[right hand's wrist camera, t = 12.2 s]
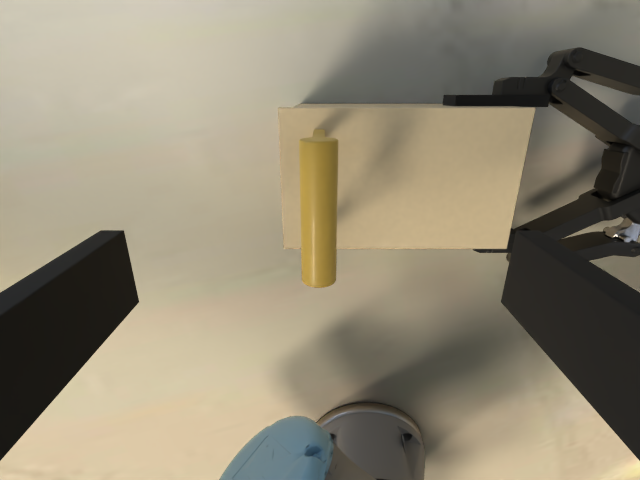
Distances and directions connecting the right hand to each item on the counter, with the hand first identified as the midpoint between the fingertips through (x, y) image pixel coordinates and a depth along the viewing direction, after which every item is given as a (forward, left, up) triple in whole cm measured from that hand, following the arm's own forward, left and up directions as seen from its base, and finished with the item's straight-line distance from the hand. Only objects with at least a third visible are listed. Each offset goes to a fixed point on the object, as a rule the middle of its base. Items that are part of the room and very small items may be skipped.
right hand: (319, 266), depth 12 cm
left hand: (+6, -7, -17) cm, 20 cm away
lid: (+3, -4, -14) cm, 15 cm away
